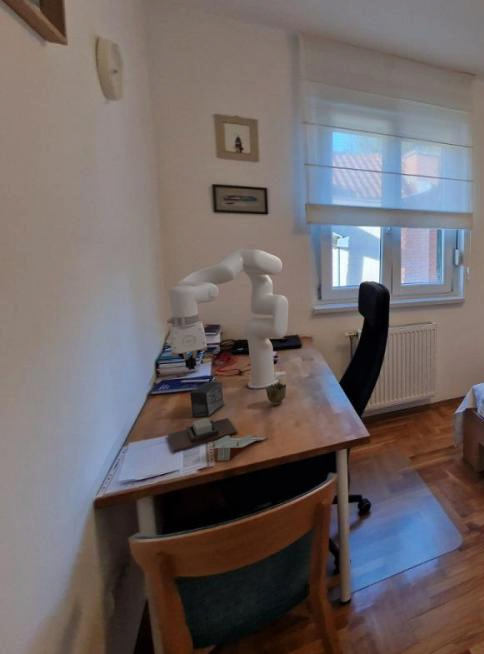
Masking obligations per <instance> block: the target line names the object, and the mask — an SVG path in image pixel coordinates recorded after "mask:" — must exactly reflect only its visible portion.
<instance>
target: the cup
mask: <svg viewBox="0 0 484 654" xmlns="http://www.w3.org/2000/svg"><path fill="white" fill-rule="evenodd" d="M265 391H266V396H267V399H268V401H269V402H271V404H272V406H275V407H277V406H280V405H282V403H283V400H284V399H285V397H286V394H287V384H286V383H284V384H283V383H282V382H278V383H276V384H274V385H272V384H271V386H270V385H269V387H268V386H267V387H266V388H265Z"/></svg>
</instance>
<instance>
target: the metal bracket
mask: <svg viewBox="0 0 484 654" xmlns="http://www.w3.org/2000/svg"><path fill="white" fill-rule="evenodd" d="M266 439H267V436H264V437H263V436H258V437H253V435H252V434H248V435H246V436H244V437H231V436H225V437H223V438H221V439H218V440H215V441H212V445H210V446H207V447H206V448H205V449H206V450H207V449H211V450H212V449H218V450H217V461H219V462H220V461H229V460H231V449H239V448H244V447H246V446H248V445H250V444H252V443H254V442H256V441H263V440H266Z"/></svg>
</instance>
